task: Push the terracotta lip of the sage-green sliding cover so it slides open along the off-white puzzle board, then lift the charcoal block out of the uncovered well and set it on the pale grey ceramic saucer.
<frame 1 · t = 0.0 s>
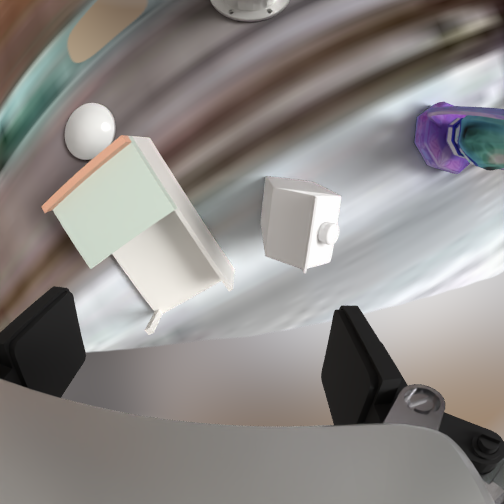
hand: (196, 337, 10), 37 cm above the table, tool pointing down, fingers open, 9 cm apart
puzzle board: (152, 230, 47), on the table
lantern: (438, 137, 43), on the table
cover: (104, 206, 37), point 9 cm above the table, slide at 0.0 cm
saucer: (90, 131, 42), on the table
milk carton: (286, 202, 47), on the table
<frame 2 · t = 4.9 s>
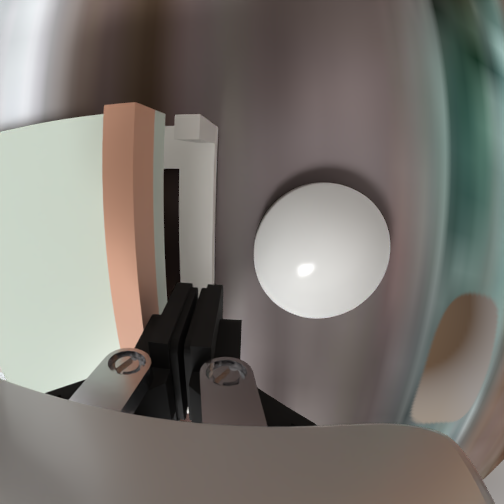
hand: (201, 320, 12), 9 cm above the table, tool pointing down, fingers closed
puzzle board: (56, 239, 20), on the table
cover: (42, 302, 12), point 9 cm above the table, slide at 1.3 cm, touching gripper
saucer: (322, 250, 21), on the table
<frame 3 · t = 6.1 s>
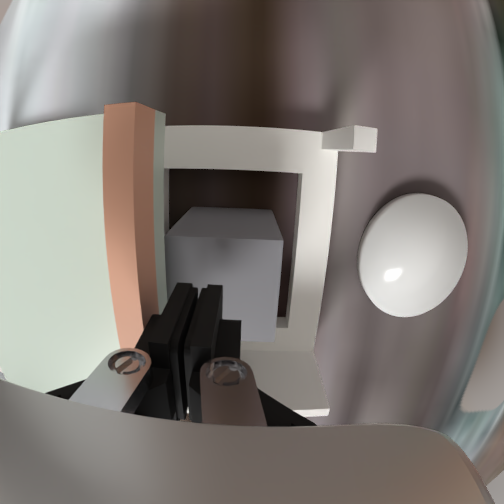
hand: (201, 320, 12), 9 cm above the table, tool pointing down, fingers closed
puzzle board: (141, 242, 20), on the table
cover: (42, 302, 12), point 9 cm above the table, slide at 8.3 cm, touching gripper
block: (230, 246, 21), resting in puzzle board
saucer: (413, 255, 21), on the table
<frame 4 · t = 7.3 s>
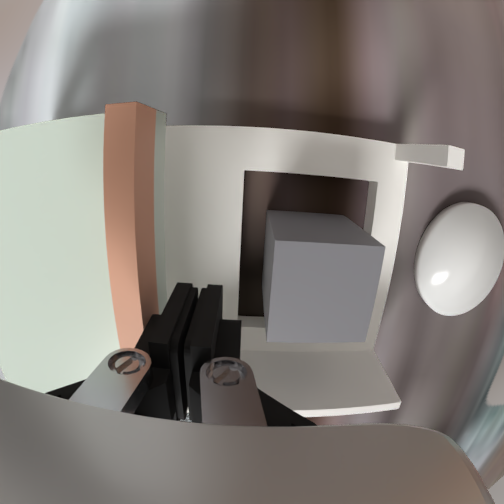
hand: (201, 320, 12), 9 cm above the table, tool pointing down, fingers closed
puzzle board: (209, 245, 21), on the table
cover: (42, 301, 12), point 9 cm above the table, slide at 13.0 cm, touching gripper
block: (302, 249, 21), resting in puzzle board
saucer: (460, 258, 21), on the table
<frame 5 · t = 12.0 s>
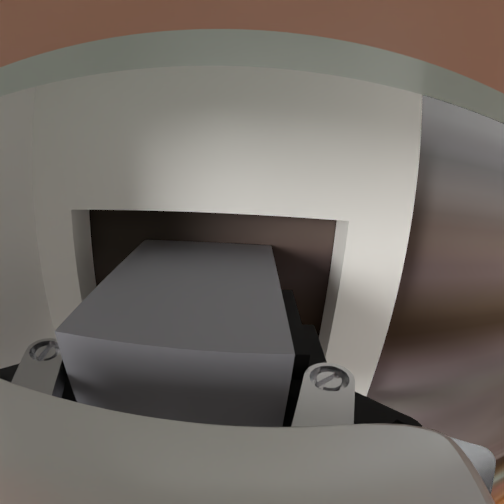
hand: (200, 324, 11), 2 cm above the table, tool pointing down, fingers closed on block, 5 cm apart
puzzle board: (209, 151, 11), on the table
block: (206, 300, 13), resting in puzzle board, touching gripper
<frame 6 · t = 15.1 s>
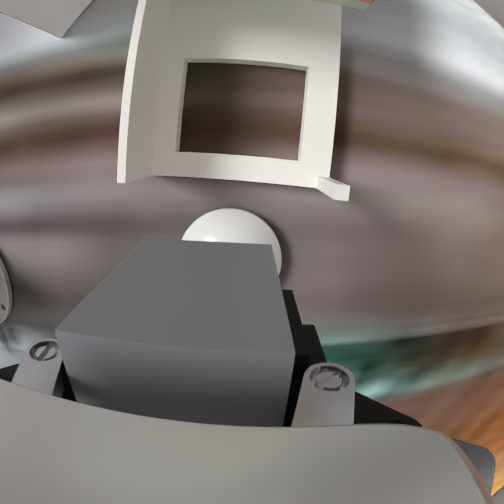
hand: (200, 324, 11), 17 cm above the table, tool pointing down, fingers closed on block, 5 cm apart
puzzle board: (248, 43, 23), on the table
block: (206, 299, 13), point 15 cm above the table, touching gripper
saucer: (230, 257, 29), on the table
milk carton: (67, 1, 20), on the table
when the fingers open (4 cm above the table, at t = 18.2 s): block drops 1 cm, resting on saucer.
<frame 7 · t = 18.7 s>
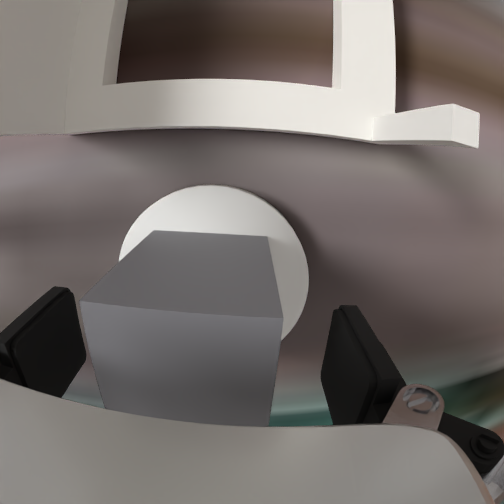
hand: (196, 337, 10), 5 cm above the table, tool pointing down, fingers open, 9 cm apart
block: (208, 286, 14), point 1 cm above the table, touching saucer
saucer: (212, 277, 15), on the table
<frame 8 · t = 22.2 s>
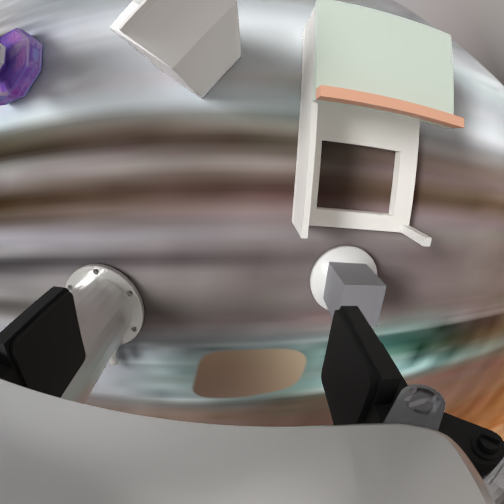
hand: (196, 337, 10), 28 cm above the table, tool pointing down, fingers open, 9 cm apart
puzzle board: (360, 129, 35), on the table
lantern: (19, 69, 30), on the table
cover: (393, 59, 24), point 9 cm above the table, slide at 13.3 cm
block: (344, 281, 40), point 1 cm above the table, touching saucer
saucer: (343, 278, 40), on the table
milk carton: (199, 61, 32), on the table
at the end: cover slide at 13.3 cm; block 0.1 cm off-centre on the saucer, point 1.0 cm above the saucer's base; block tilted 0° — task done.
